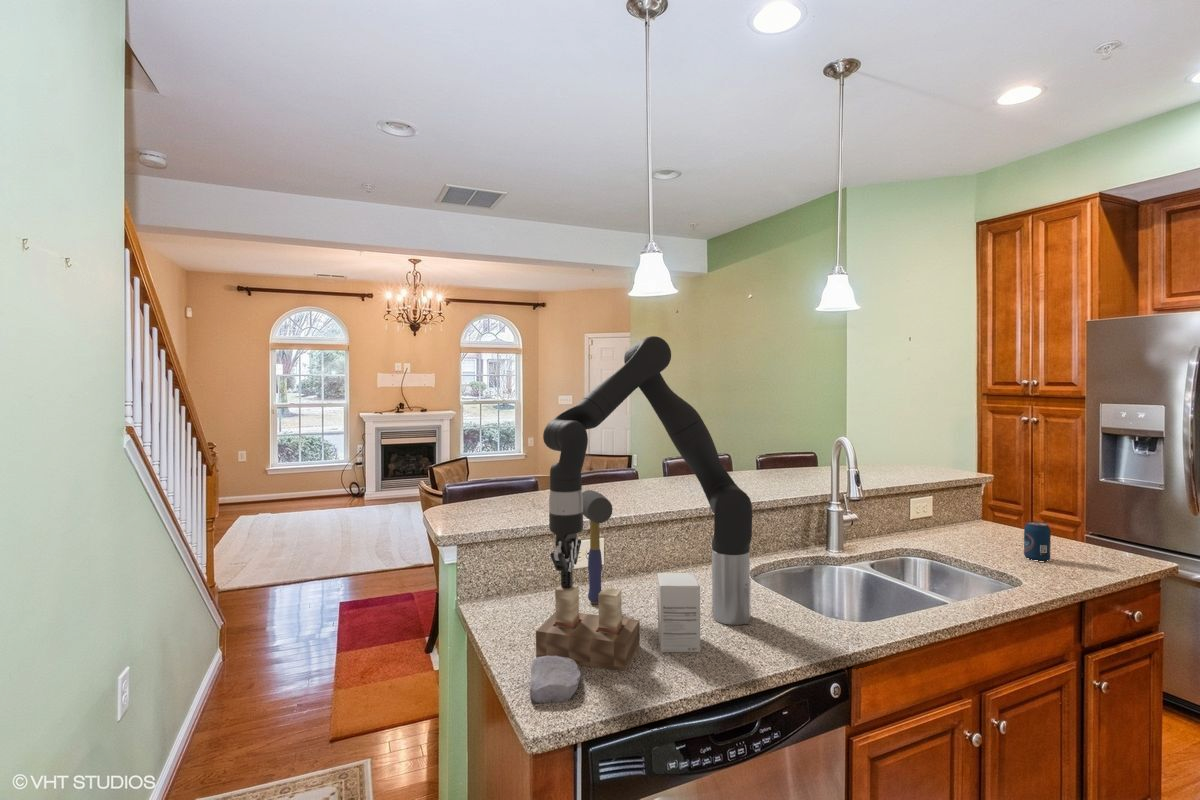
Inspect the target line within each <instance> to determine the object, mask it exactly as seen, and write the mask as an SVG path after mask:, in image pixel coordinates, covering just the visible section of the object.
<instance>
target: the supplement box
mask: <svg viewBox="0 0 1200 800" xmlns="http://www.w3.org/2000/svg"><path fill="white" fill-rule="evenodd" d="M657 637H658V644H659V650H660V652H661V653H701V587H700V583H699V582H698V578H697V577H696V573H695V572H657Z"/></svg>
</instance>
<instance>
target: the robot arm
mask: <svg viewBox="0 0 1200 800" xmlns="http://www.w3.org/2000/svg"><path fill="white" fill-rule="evenodd" d="M623 356H624V358H623V359H624V360H623V361H624V364H623V365H622V366H621V367H620V368H619V369H618V370H616V371H615V372H614V373H612V374H611V375H610V376H609V377H607V378H605V379H604V380H602V381H601V382H600V383H599V384H598V385H596V386H595V387H594V388H593V389H591V391H589V392H588V393H587V394H586V395H584V397H583V398H582V399H580V400H579V402H577V403H576V404H575V405H573V406H571V407H570V408H568V409H566V410H565V411H563V412H561V413H559V414H557V415H556V416H555V417H553V418H552V419H551V420H550V421H549V422H548V423H547V424H546V426H545V428H544V429H543V433H542V439H543V443H544V444H545V446H546V447H547V448H548V449H549V450H553V451H555V452H556V451H557V452H560V455H559V460H558V462H556V463H553V464H551V466H550V469H549V495H548V497H549V498H548V513H549V514H548V515H549V516H548V517H549V519H548V526H549V531H550V532H551V533H552V534H555V542H554V548H555V551H550V559H551V560H552V563H553V565H554V568H555V570H556V572H557V571H558V572H560V585H561V587H562V588H570V587H571V586H572V585H573V584H574V580H573V577H574V576H573V570H574V568H575V565H577V563H578V558H579V554H580V548H581V545H582V539H579V538H578V534H579V533H581V532H582V531H584V515H583V497H582V493H583V491H582V490H583V489H582V487H583V485H582V484H583V483H582V480H583V479H582V471H583V467H584V462H585V459H586V458H585V457H586V453H587V449H588V444H589V437H588V436H589V435H588V433H587V432H588V431H587V430H592V429H596V428H597V427H598V426H600V424H602V423H603V422H604V421H605V420H606V419H607V418H608V417H609V416H610V415H611V414H612V413H613V412H614V411H615V410H616V409H617V408H618V407H619V406H620V405H621V404H622V403H623V402H624V401H625V400H626V399H627V398H628V397H629V396H630V395H631V394H633V392H634V391H636V389H638V388H639V389H640V391H641V392H642V394H643V395H644V396H645V398H646V399H647V401H648V402H649V404H650V405H651V407H652V409H653V411H654V412H655V415H657V417H658V419H659V420H660V423H661V424H662V425H663V427H664V429H665V431H666V433H667V435H668V437H669V439H670V440H671V442H672V443H673V446H674V447H675V449H676V450H677V452H678V453H679V454H680V457H682V459H683V461H684V462H685V463H686V464H687V466H688V467H689V469H690V470H691V471H692V472H693V474H694V476H696V479H697V480H698V481H699V484H700V486H701V488H702V490H703V492H704V494H705V497H706V499H707V502H708V504H709V507H710V509H711V511H712V512H713V515H714V517H713V518H714V523H713V525H714V527H713V528H714V529H713V532H714V533H713V537H712V539H711V590H712V591H711V601H712V603H711V605H712V606H711V610H712V611H711V612H712V613H711V614H712V618H713V620H715V621H716V622H718V623H721V624H724V625H732V626H739V625H749V624H750V622H751V621H750V619H751V617H752V616H751V615H752V613H751V607H752V606H751V605H752V603H751V598H752V597H751V595H752V593H751V591H752V590H751V589H752V588H751V582H752V581H751V576H750V574H751V568H750V567H751V565H750V564H751V563H750V561H751V560H750V559H751V556H750V553H751V552H750V550H751V548H750V547H751V542H752V538H753V506H752V501H751V498H750V496H749V495H748V494H747V493H746V492H745V491H744V490H743V489H741V488H740V487H739V486H738V484H736V482H735V481H734V480H733V478H732V477H731V475H730V473H728V471H727V470H726V468H725V466H724V465H723V463H722V461H721V459H720V456H719V453H718V450H717V448H716V445H715V442H714V439H713V437H712V435H711V433H710V431H709V429H708V428H707V426H706V423H705V422H704V420H703V418H702V417H701V414H699V412H698V411H697V410H696V409H695V408H694V407H693V406H692V405H691V404H690V403H689V402H687V401H686V400H685V399H683V398H682V397H681V396H679V395H678V394H677V393H675V392H674V391H673V390H672V389H671V388H670V386H669V385H668V384H667V382H666V381H665V379H664V377H663V375H662V374H661V372H663V371H664V370H665V369H667V367H668V366H669V365H670V362H671V360H672V349H671V348H670V345H669V343H668V342H667V341H666V340H664V338H662V337H659V336H655V335H653V336H647V337H645V338H642V339H640V341H638V342H636V343H635V344H633V345H632V346H630V347H628V349H627V350H626V351H625V353H624V355H623Z"/></svg>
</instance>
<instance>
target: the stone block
mask: <svg viewBox="0 0 1200 800" xmlns="http://www.w3.org/2000/svg"><path fill="white" fill-rule="evenodd" d="M581 675H582V673H581V671H580V670H579V665H577V664H576V662H575V661H574V660H572V659H570V658H567V657H559V656H543V657H538V658H536V657H535V658H533V659H532V660H531V667H530V681H529V698H530V700H531V701H532V702H533V703H534V704H540V703H543V704H545V703H551V702H567V700H568V701H570V700H571V698H572V696H573V695H574V694H575V692H576V691H577V689H578V686H579V682H580V679H581Z"/></svg>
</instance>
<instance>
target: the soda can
mask: <svg viewBox="0 0 1200 800" xmlns="http://www.w3.org/2000/svg"><path fill="white" fill-rule="evenodd" d="M1023 529H1024V530H1023V536H1024V537H1023V555H1024V557H1025V558H1026V559H1027V558H1029V559H1032V560H1038V561H1047V560H1048V561H1049V560H1050V559H1051V547H1052V546H1051V539H1052V537H1051V531H1052V530H1051V528H1050V526H1049V523H1046V522H1041V521H1035V520H1032V521H1031V520H1028V521H1026V523H1025V525H1024V528H1023ZM1048 561H1047V562H1048Z"/></svg>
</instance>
